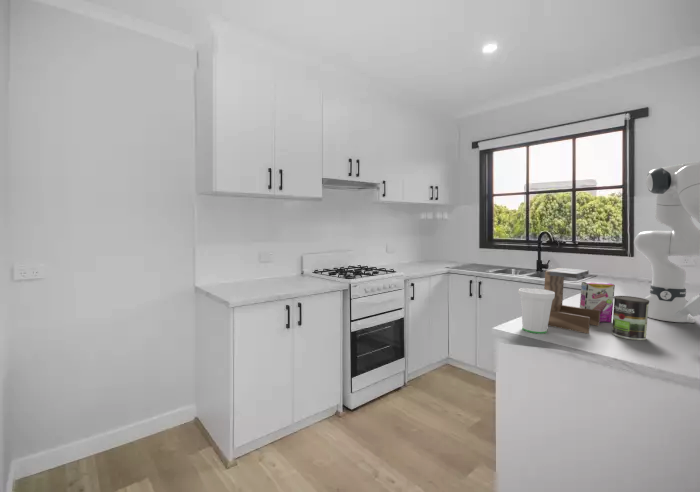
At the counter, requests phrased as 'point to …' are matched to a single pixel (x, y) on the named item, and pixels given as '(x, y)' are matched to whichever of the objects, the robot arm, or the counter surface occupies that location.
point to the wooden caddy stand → (565, 314)
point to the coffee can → (630, 317)
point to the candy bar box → (598, 298)
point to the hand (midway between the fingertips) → (676, 316)
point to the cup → (535, 309)
